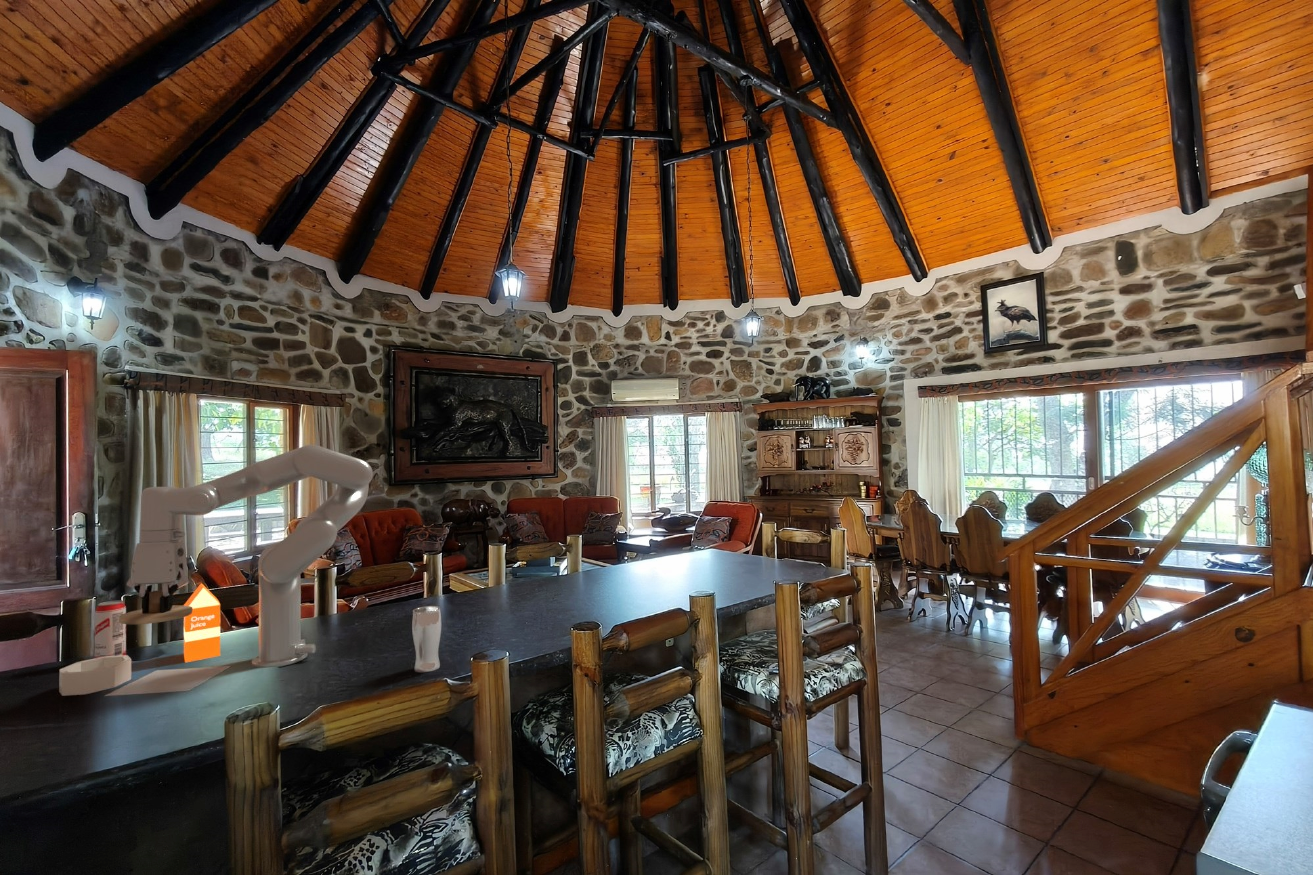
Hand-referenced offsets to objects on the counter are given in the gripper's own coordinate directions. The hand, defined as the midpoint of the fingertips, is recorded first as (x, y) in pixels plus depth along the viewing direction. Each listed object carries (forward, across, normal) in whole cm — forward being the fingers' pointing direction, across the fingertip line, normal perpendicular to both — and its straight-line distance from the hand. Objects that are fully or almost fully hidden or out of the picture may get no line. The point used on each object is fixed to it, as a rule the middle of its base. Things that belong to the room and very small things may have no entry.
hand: (156, 611), depth 142 cm
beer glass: (+16, -65, +2) cm, 67 cm away
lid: (+1, 0, 0) cm, 1 cm away
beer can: (+18, +25, -21) cm, 37 cm away
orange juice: (+18, +1, -20) cm, 26 cm away
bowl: (+18, +13, -1) cm, 22 cm away
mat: (+18, -4, 0) cm, 18 cm away
